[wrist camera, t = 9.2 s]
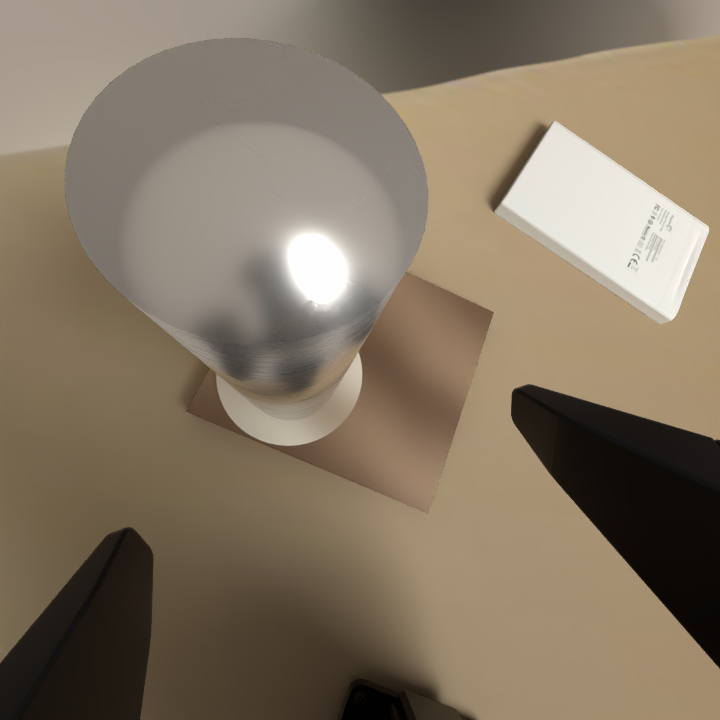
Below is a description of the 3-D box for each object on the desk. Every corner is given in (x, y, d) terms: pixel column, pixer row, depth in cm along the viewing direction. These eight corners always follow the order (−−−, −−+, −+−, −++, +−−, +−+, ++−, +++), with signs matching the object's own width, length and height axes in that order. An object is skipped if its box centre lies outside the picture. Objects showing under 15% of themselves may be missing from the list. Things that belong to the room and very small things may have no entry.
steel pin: (336, 421, 17) (435, 350, 4) (239, 419, 16) (26, 331, 4) (338, 331, 18) (422, 66, 5) (246, 326, 17) (99, 12, 5)
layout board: (422, 510, 18) (429, 514, 17) (191, 413, 17) (184, 411, 16) (486, 317, 20) (495, 310, 20) (291, 228, 20) (290, 217, 19)
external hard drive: (540, 137, 25) (688, 237, 25) (488, 217, 23) (651, 328, 23) (556, 116, 24) (714, 223, 23) (502, 201, 21) (677, 319, 21)
